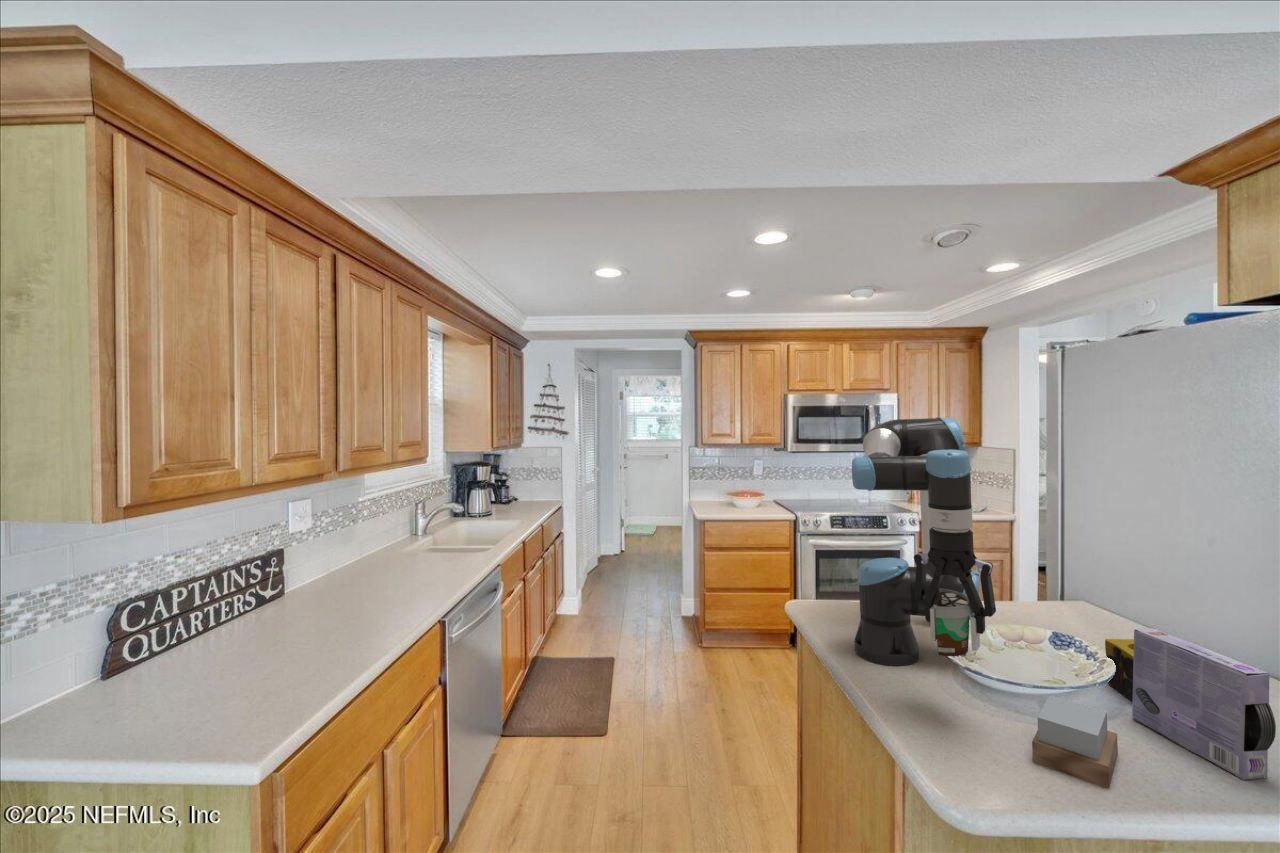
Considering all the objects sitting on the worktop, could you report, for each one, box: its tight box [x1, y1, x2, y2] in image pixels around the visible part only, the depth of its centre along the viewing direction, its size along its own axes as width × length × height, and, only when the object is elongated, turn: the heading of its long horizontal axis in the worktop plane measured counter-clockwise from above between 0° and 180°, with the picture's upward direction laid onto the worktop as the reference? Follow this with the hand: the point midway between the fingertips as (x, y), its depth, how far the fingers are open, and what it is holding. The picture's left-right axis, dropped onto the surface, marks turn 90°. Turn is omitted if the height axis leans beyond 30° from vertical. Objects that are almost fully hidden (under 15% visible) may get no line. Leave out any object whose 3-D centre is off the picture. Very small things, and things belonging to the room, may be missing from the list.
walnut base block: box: [1031, 729, 1119, 789], centre depth 93 cm, size 10×12×4 cm
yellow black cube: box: [1104, 638, 1134, 703], centre depth 111 cm, size 10×10×10 cm
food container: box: [935, 588, 973, 657], centre depth 107 cm, size 12×6×10 cm, turn 148°
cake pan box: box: [1131, 627, 1277, 781], centre depth 94 cm, size 19×5×18 cm, turn 5°
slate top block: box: [1037, 695, 1108, 760], centre depth 93 cm, size 8×10×4 cm
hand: (955, 643), depth 107 cm, fingers closed on food container, 6 cm apart
